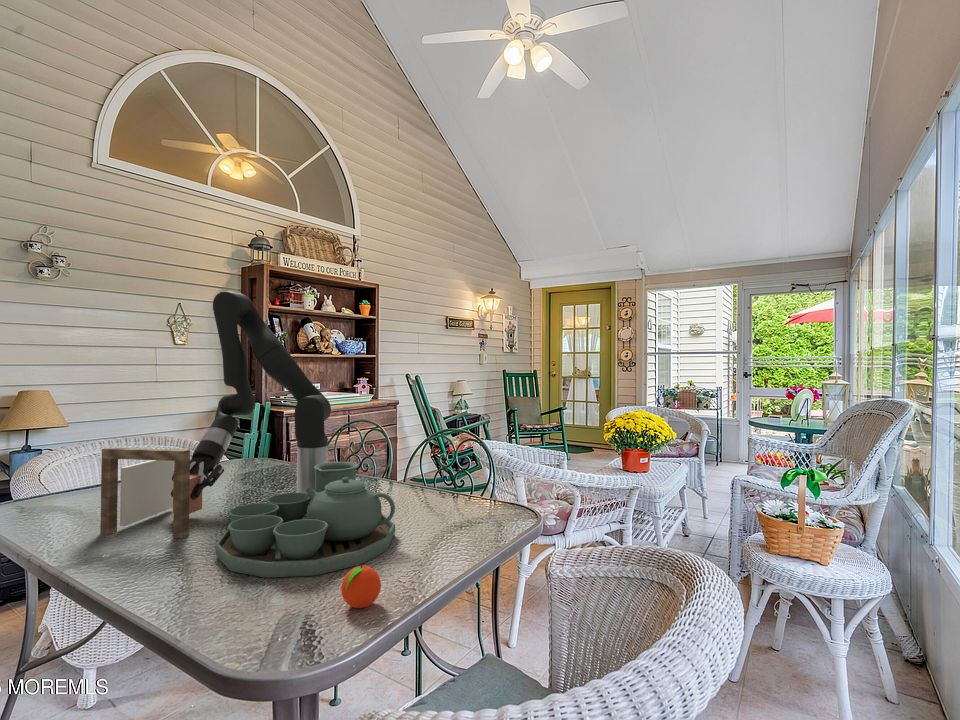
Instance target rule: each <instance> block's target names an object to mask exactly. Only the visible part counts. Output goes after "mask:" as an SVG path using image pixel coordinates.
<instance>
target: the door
mask: <svg viewBox="0 0 960 720" xmlns="http://www.w3.org/2000/svg"><path fill="white" fill-rule="evenodd" d="M173 474H174V461H164V460H146V461H143V462H140V463H136V464H131V465H128V466H122V467H120V501H119V502H120V503H119V506H120V507H119V509H120V510H119V511H120V512H119V515H120V516H119V526H120V527H126V526H128V525H132V524H133V523H137V522H138V521H141V520H144V519H147V518H149V517H152V516H155V515H158V514H159V513H162V512H165V511H168V510H170V509H173V497H172V496H171V491H172V490H173V481H172V477H173Z"/></svg>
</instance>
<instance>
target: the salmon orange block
mask: <svg viewBox="0 0 960 720" xmlns="http://www.w3.org/2000/svg"><path fill="white" fill-rule="evenodd" d="M199 478H200V476H198V475H194V474H190V494H191V493H192V491H193V489H194V487H195V486H196V484H198V480H199ZM202 509H203V491H202V492H201V494H200V496H199V497H198V498H197V499H196V500H193V499H192V498H191V497H189V515H190V514H193V513H196V512H198V511H200V510H202ZM172 514H174V478H173V508H172Z"/></svg>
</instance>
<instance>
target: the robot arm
mask: <svg viewBox="0 0 960 720" xmlns="http://www.w3.org/2000/svg"><path fill="white" fill-rule="evenodd" d="M212 310H213V314H214V321H215V324H216V329H217V334H218V338H219V344H220V348H221V356H222V371H223V372H222V373H223V383H224V385H225V386H227V387H232V388H234V390H235V391H236V393H227V394H224V395H223V396H222V397H221V398H220V399H219V401H218V403H217V404H218V405H217V407H216V411H215V416H214V420H213V421H212V423H211V425H210V426H209V428H208V429H207V431H206V432H205V433H204V434H203V436H202V438H201V439H200V440H199V443H198V444H197V446H196V448H194V451H193V452H192V455H191V458H190V474H194V475H198V476H200V478H199V480H198V484H196V486H195V487H194V489H193V491H192V493H191V494H190V497H191V498H192V499H193V500H196V499H197V498H198V497H199V496H200V494H201V492H202V493H203V490H204V489H205V488H206V487H210V488H212V487H213V486H214V485H215V483H216V482H217V481H218V479H220V477H221V476H222V474H223V473H224V472H225V468H224V466H222V464H220V462H221V461H222V459H223V457H224V455H225V454H226V453H225V452H226V451H227V450H228V448H229V446H230V444H231V441H232V439H233V437H234V435H235V433H236V431H237V430H238V428H239V422H238V420H237V418H235V417H234V416H248V415H251V414H252V413H253V412H254V409H255V407H256V399H255V395H254V392H253V389H252V387H251V383H250V381H249V373H248V358H247V355H246V352H245V350H244V347H243V345H242V342H241V339H240V335H239V329H238V327H240V329H241V330H242V331H243V333H245V334H246V337H247V338H248V340H249V344H250V347H251V351H252V353H253V356H254V358H255V360H256V361H257V363H259V365H260V366H261V368H262V369H263V370H264V372H265V373H266V374H267V376H269V377H270V378H272V380H274V381H275V382H276V383H277V384H279V385H280V386H281V387H283V388H284V389H286V390H287V391H288V392H289V393H290V395H291V396H293V398H294V400H295V401H296V405H295V407H294V435H295V436H294V437H295V439H296V449H297V450H296V493H306V494H308V493H307V491H306V489H307V488H308V487H309V486H311V488H312V489H313V490H314V491H315V492H316V469H315V468H314V466H316V465H318V464H322V463H329V462H328V461H329V459H328V455H329V454H328V453H329V452H328V451H329V450H328V448H329V446H328V445H329V443H328V442H329V439H328V436H327V434H326V433H325V422H326V421H327V420H328V419H329V418H330V416H331V412H332V406H331V403H330V401H329V400H328V398H326V396H325V395H324V394H323V393H322V392H321V391H320V390H319V389H318V388H317V387H316V386H315V385H314V384H313V383H312V381H311V380H310V379H309V378H308V377H307V375H306V374H305V372H304V371H303V370H302V368H301V367H300V366H299V364H298V363H297V362H296V360H295V359H294V357H293V356H292V355H291V353H290V352H289V351H288V349H287V348H286V346H284V345H283V343H282V342H281V341H280V340H279V338H278V337H277V336H276V335H275V333H274V332H273V331H272V330H271V328H270V327H269V326H268V325H267V323H266V322H265V321H264V319H263V318H262V316H261V315H260V313H259V311H258V309H257V308H256V306H255V305H254V303H253V302H252V300H251V299H250V298H249V296H247V295H246V294H244V293H240V292H234V291H230V290H224V291H220V292H218V293H217V294H216V295H215V296H214V298H213V301H212ZM173 478H174V474H173V477H172V481H173ZM171 496H172V497H173V490H172V491H171ZM310 501H311V500H310ZM309 504H310V503H309Z"/></svg>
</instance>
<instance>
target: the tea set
mask: <svg viewBox="0 0 960 720" xmlns="http://www.w3.org/2000/svg"><path fill="white" fill-rule="evenodd" d="M358 467H359V463H356V462H351V461H329V462H328V463H322V464H318V465H316V466H314V468H315V469H316V492H315V491H314V490H313V489H312V488H311V486H309V487H308V488H307V489H306V491H307V493H308V494H306V493H297V492H286V493H278V494H275V495H272V496H270V497H267V498H266V500H265V502H258V503H249V504H244V505H243V504H242V505H239V506H236V507H233V508H231V509H230V510H229V511H228V512H227V514H228V516H229V517H230V521H231V522H230V523H229V524H228V526H227V527H226V528H227V529H226V530H225V531H224V532H223V534H222V536H221V537H220V538H219V539H218V541H217V542H216V543H215V548H214V549H215V550H214V554H215V555H216V557H217V559H218V560H219V561H220V562H221V563H222V564H223V565H224V566H225V567H226V568H227V569H228V570H229V571H230V572H234V573H239V574H245V575H250V576H256V577H262V578H265V579H269V578H270V579H271V578H287V577H288V578H290V577H291V578H292V577H308V576H309V577H310V576H318V575H322V574H326V573H331V572H335V571H340V570H343V569H347V568H354V567H357V566H361V565H362V564H364V563H366V562H368V561H369V560H371V559H373V558H375V557H377V556H379V555H381V554H383V553H384V552H386V551H388V548H389V546H390V544H391V543H392V540H393V539H394V536H395V534H396V523H394V522H393V521H392V519H393V518H394V515H395V514H396V513H395V512H396V510H395V509H396V505H395V502H394V499H393V498H392V497H391V496H390V495H389V494H387V493H386V492H378V493H375V492H374V491H372V490H370V489H368V488H366V483H365V482H363V481H362V480H359V479H357V478H356V477H357V468H358ZM380 498H383V499H385V500H386V501H387V502H388V503H389V506H390V511H389V514H388V516H386V515H385V514H384V513H382V501H381V500H380ZM310 500H311V501H310ZM309 503H310V504H309Z"/></svg>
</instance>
